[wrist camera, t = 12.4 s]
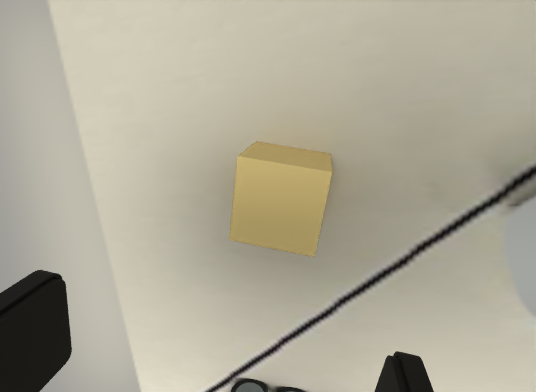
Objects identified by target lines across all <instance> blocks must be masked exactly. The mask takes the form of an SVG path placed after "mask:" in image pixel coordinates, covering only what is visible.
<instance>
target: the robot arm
mask: <svg viewBox="0 0 536 392" xmlns="http://www.w3.org/2000/svg"><path fill="white" fill-rule="evenodd" d="M71 350H72V348H71V336H70V326H69V316H68V304H67V293H66V284H65V282H64V281H63V280H62V277H61V275H59V274H56V273H52V272H48V271H43V270H37V271H35V272H33V273H31V274H30V275H28V276H27V277H25V278H23V279H22V280H20V281H19V282H17V283H16V284H14V285H12V286H11V287H9V288H8V289H6V290H5V291H3V292H2V293H0V392H39V391H40V390H41V389H42V388H43V387H44V386H45V385H46V384H47V383H48V382H49V381H50V380H51V379H52V378H53V376H54V375H55V374H56V373H57V372H58V371H59V370H60V369H61V368H62V367H63V365H65V364H66V362H67V361H68V359H69V358H70V355H71V352H72V351H71ZM375 392H434V391H433V388H432V386H431V383H430V380H429V378H428V375H427V372H426V369H425V367H424V364H423V361H422V359H421V358H420V357H419V356H416V355H411V354H407V353H402V352H398V351H396V352H395V353H394V355H393V356H389V355H388V356H387V358H386V360H385V363H384V366H383V369H382V372H381V375H380V377H379V380H378V383H377V386H376V389H375Z"/></svg>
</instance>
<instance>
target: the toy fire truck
mask: <svg viewBox="0 0 536 392" xmlns="http://www.w3.org/2000/svg"><path fill="white" fill-rule="evenodd" d="M231 392H268V391H267V388H266V387H265V385H264V384H263V383H261V382H259V381H257V380H254V379H244V380H241V381H239V382H237V383H236V384H235V385H234V386H233V387H232V389H231ZM278 392H303V391H302V390H300V389H297V388H292V387H286V388H283V389H281V390H279V391H278Z"/></svg>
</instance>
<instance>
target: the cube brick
mask: <svg viewBox="0 0 536 392" xmlns="http://www.w3.org/2000/svg"><path fill="white" fill-rule="evenodd" d="M331 177H332V164H331V155H330V154H329V153H322V152H316V151H310V150H304V149H298V148H292V147H286V146H280V145H274V144H268V143H262V142H255V143H254V144H253V145H251V146H250V147H249V148H247V149H246V150H245V151H244V152H242V153H241V154H240V155H239V156H238V159H237V169H236V178H235V188H234V197H233V207H232V217H231V226H230V236H229V240H232V241H237V242H242V243H247V244H252V245H257V246H262V247H267V248H272V249H277V250H282V251H287V252H292V253H297V254H302V255H307V256H312V257H315V252H316V248H317V243H318V238H319V233H320V229H321V224H322V219H323V214H324V210H325V205H326V200H327V196H328V191H329V186H330V181H331Z"/></svg>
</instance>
